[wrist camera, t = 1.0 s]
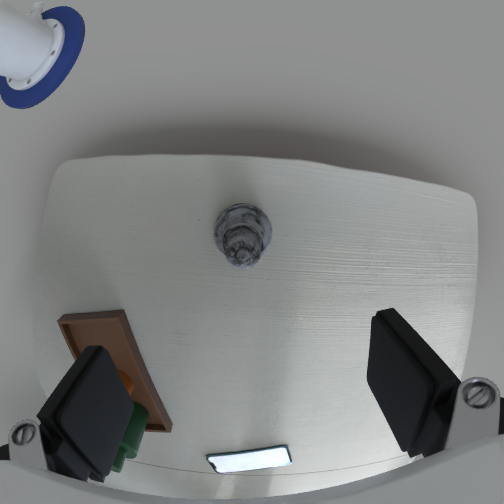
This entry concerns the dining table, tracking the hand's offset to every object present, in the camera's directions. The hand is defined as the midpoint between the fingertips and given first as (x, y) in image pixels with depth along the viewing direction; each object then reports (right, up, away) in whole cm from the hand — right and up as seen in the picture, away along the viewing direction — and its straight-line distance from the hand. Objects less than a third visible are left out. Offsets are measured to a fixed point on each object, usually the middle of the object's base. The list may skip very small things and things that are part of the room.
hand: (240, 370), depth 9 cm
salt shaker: (-1, +7, +24) cm, 25 cm away
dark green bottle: (-19, -23, +31) cm, 43 cm away
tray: (-20, -16, +29) cm, 39 cm away
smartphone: (0, -37, +36) cm, 51 cm away
